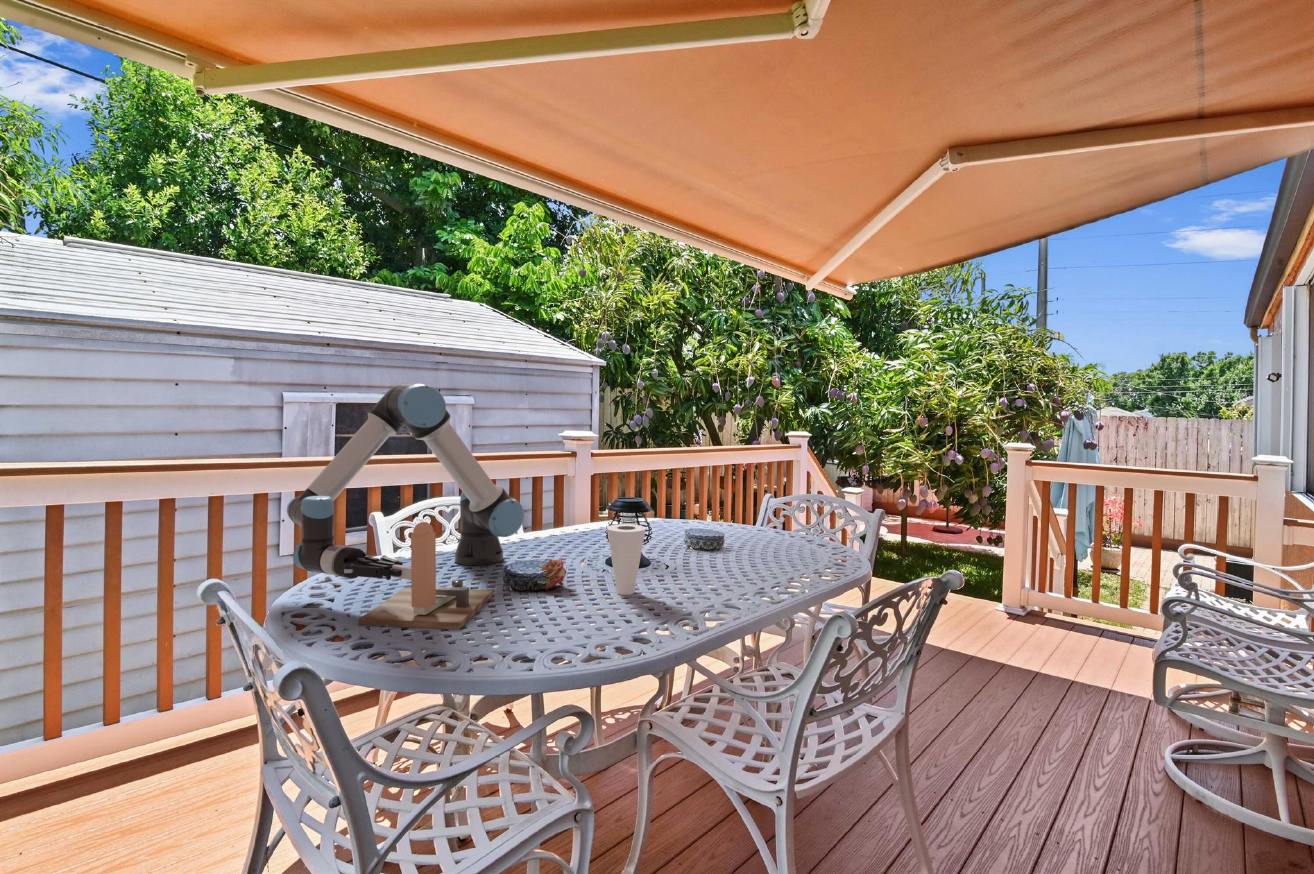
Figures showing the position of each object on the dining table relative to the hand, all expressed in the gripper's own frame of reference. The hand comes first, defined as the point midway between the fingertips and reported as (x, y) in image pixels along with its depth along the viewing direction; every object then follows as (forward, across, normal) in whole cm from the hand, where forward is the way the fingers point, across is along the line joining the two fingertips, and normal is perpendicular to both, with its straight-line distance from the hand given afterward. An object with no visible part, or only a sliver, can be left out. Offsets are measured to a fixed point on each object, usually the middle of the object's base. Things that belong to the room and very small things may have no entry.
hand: (414, 574), depth 163 cm
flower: (+14, -38, -11) cm, 41 cm away
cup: (+34, -44, -11) cm, 56 cm away
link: (+1, -8, -9) cm, 13 cm away
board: (-2, -7, -11) cm, 13 cm away
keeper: (+2, -13, -9) cm, 16 cm away
